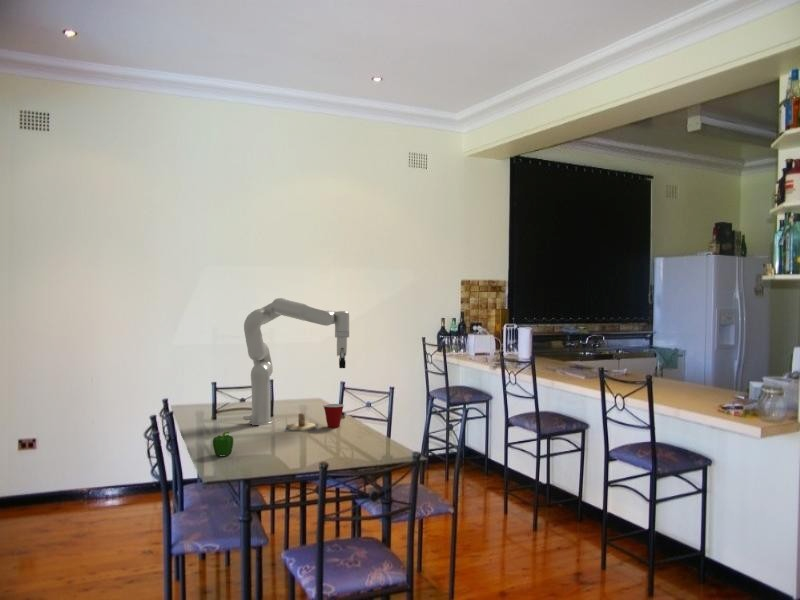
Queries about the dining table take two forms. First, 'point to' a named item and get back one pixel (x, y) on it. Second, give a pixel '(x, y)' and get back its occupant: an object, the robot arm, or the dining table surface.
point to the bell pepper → (223, 444)
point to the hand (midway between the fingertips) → (342, 366)
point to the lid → (301, 424)
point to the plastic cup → (333, 414)
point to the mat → (300, 431)
